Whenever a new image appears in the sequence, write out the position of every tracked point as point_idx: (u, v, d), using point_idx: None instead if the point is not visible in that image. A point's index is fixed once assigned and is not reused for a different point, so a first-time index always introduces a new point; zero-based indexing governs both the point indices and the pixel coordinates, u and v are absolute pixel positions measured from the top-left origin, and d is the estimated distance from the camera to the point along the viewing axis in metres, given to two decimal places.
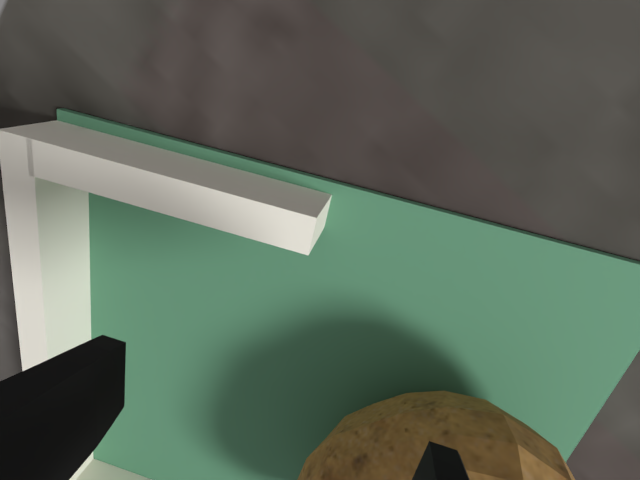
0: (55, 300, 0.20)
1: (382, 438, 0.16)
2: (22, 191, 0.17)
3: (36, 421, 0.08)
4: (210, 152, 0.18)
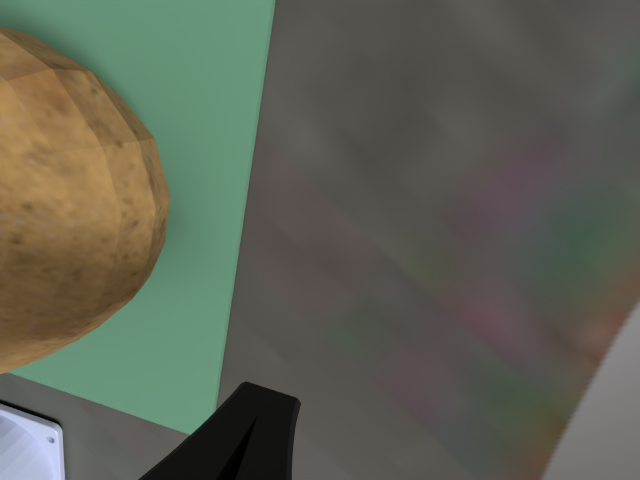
0: None
1: None
2: None
3: None
4: None
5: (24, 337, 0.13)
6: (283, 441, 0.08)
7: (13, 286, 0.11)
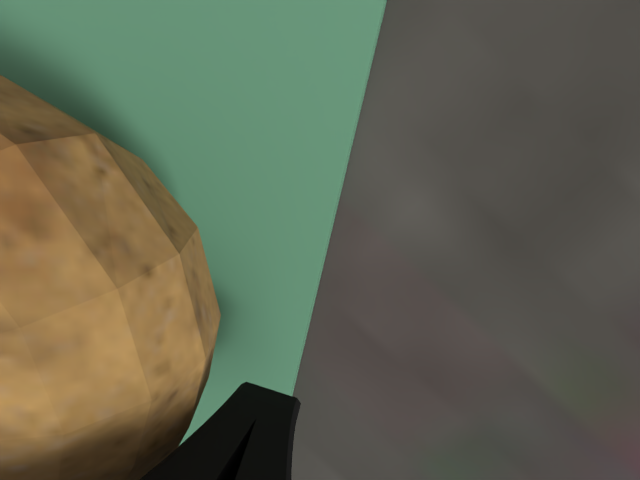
0: None
1: None
2: None
3: None
4: None
5: None
6: (283, 441, 0.08)
7: None
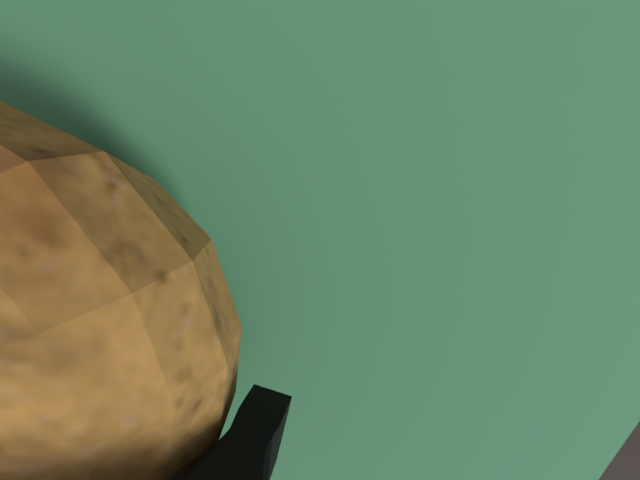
0: None
1: None
2: None
3: None
4: None
5: None
6: (262, 434, 0.08)
7: None
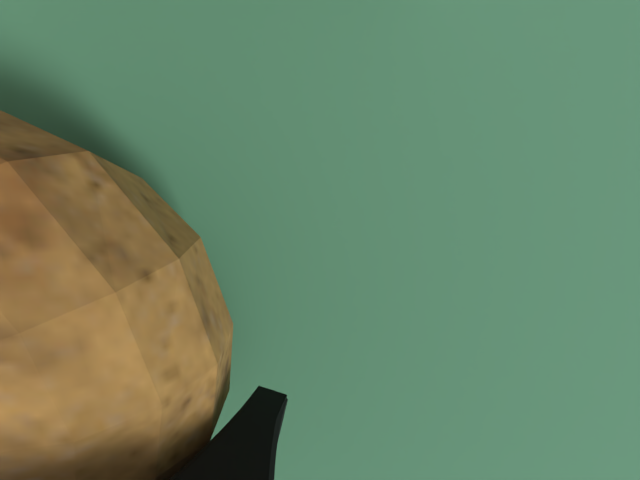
0: None
1: None
2: None
3: None
4: None
5: None
6: (267, 436, 0.08)
7: None
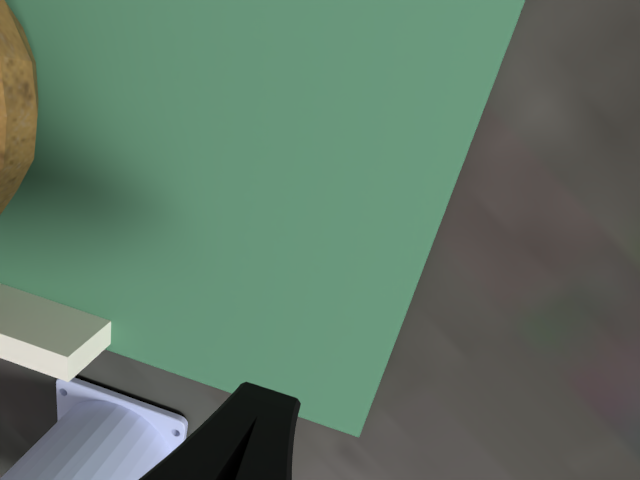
0: None
1: None
2: None
3: None
4: None
5: None
6: (283, 441, 0.08)
7: None
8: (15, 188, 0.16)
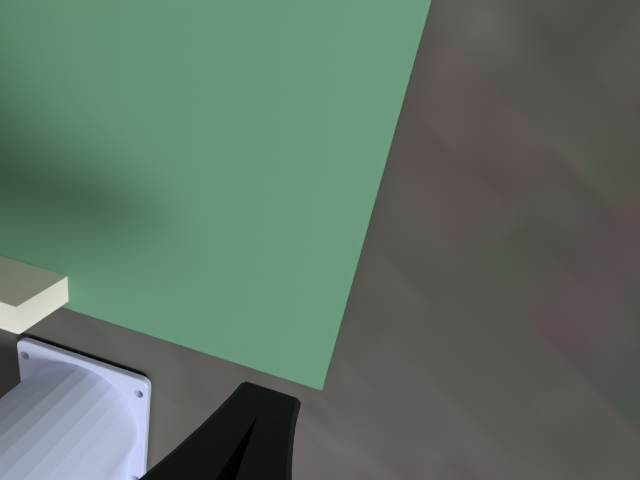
0: None
1: None
2: None
3: None
4: None
5: None
6: (283, 441, 0.08)
7: None
8: None
